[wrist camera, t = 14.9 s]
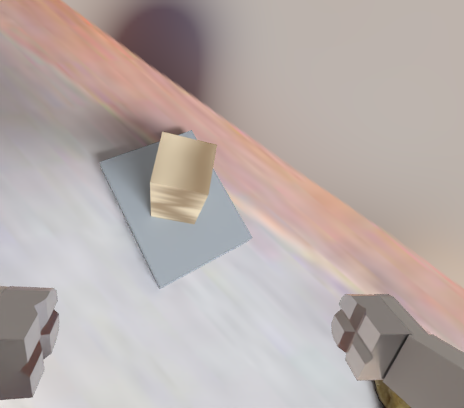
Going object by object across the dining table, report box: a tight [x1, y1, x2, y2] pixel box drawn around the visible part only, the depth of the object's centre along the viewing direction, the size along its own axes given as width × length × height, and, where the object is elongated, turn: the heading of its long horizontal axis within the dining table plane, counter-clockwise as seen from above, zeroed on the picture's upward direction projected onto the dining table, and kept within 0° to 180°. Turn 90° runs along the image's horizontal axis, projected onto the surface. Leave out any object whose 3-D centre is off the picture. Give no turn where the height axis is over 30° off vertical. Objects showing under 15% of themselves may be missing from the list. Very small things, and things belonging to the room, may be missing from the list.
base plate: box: [99, 130, 252, 289], centre depth 37 cm, size 16×12×3 cm
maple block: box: [150, 132, 217, 224], centre depth 31 cm, size 5×5×10 cm
